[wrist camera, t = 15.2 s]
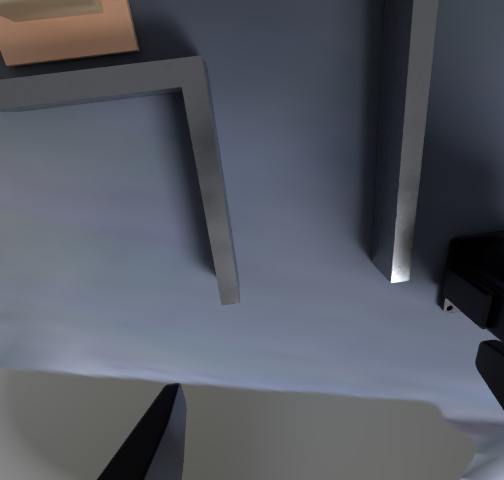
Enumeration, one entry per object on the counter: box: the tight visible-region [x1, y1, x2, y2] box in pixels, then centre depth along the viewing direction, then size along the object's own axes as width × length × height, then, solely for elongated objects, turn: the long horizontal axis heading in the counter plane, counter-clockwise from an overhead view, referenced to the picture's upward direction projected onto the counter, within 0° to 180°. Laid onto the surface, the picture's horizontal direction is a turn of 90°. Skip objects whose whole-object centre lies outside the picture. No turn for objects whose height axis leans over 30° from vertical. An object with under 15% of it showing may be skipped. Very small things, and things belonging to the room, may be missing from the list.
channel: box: [0, 0, 439, 305], centre depth 16 cm, size 22×25×3 cm
